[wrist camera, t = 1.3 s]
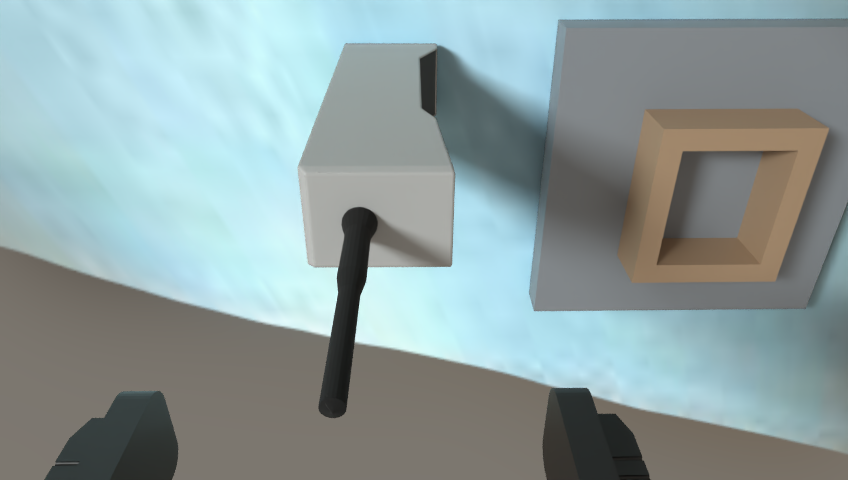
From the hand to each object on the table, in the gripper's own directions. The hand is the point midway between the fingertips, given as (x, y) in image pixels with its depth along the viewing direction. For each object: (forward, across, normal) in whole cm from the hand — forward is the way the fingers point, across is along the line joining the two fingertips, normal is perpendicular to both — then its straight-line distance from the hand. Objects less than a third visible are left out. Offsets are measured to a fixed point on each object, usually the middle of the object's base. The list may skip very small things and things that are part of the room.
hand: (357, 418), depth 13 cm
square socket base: (+25, -18, +6) cm, 32 cm away
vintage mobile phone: (+25, 0, 0) cm, 25 cm away
